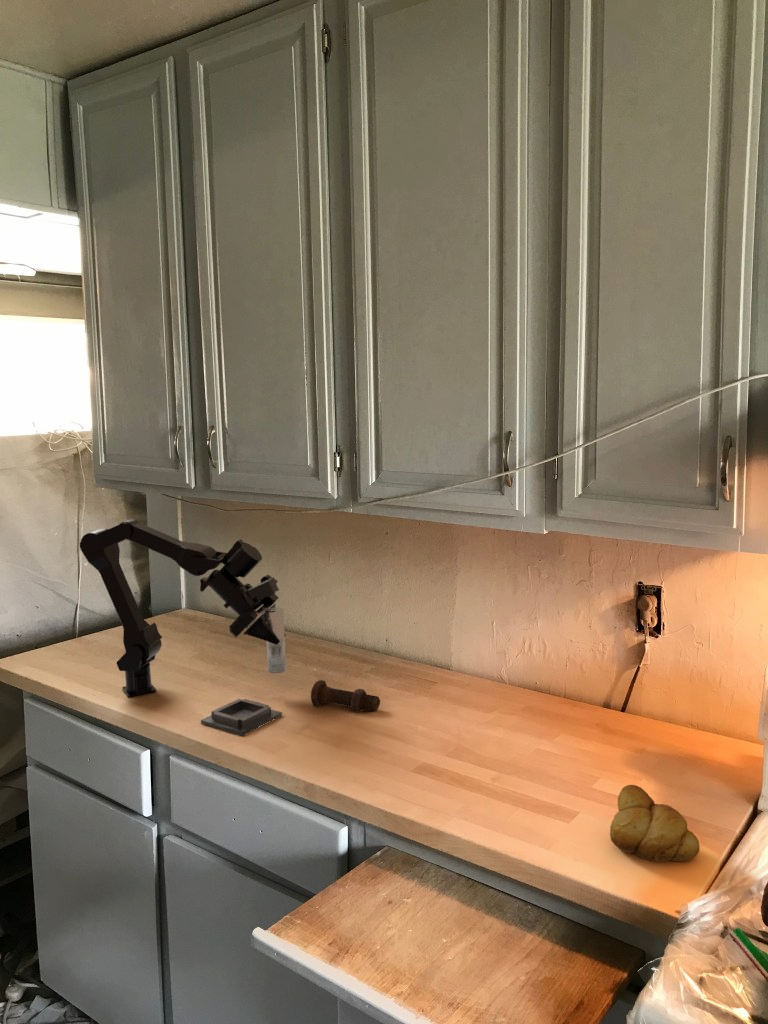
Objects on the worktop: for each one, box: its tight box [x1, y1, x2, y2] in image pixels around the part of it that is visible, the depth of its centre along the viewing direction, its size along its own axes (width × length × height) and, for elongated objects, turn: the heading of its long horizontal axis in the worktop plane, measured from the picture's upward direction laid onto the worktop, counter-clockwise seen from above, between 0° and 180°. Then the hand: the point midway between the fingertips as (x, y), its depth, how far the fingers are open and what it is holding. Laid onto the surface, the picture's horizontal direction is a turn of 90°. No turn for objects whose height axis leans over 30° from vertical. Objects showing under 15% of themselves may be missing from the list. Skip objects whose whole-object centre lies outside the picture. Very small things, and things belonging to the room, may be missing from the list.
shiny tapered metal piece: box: [265, 607, 287, 674], centre depth 187 cm, size 4×4×14 cm
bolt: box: [310, 679, 381, 713], centre depth 182 cm, size 6×5×15 cm
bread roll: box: [609, 784, 701, 863], centre depth 123 cm, size 13×10×8 cm
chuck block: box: [200, 698, 283, 737], centre depth 177 cm, size 12×12×2 cm
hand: (281, 640), depth 187 cm, fingers closed on shiny tapered metal piece, 4 cm apart
